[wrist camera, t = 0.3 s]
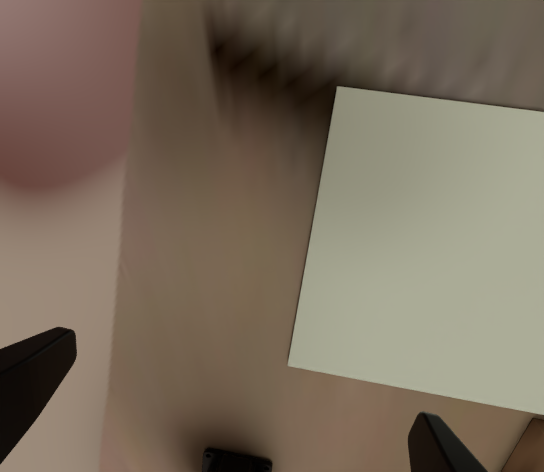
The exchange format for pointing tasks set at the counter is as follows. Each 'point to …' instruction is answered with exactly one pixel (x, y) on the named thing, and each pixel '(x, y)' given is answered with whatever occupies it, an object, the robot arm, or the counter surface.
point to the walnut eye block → (528, 450)
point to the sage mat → (428, 250)
